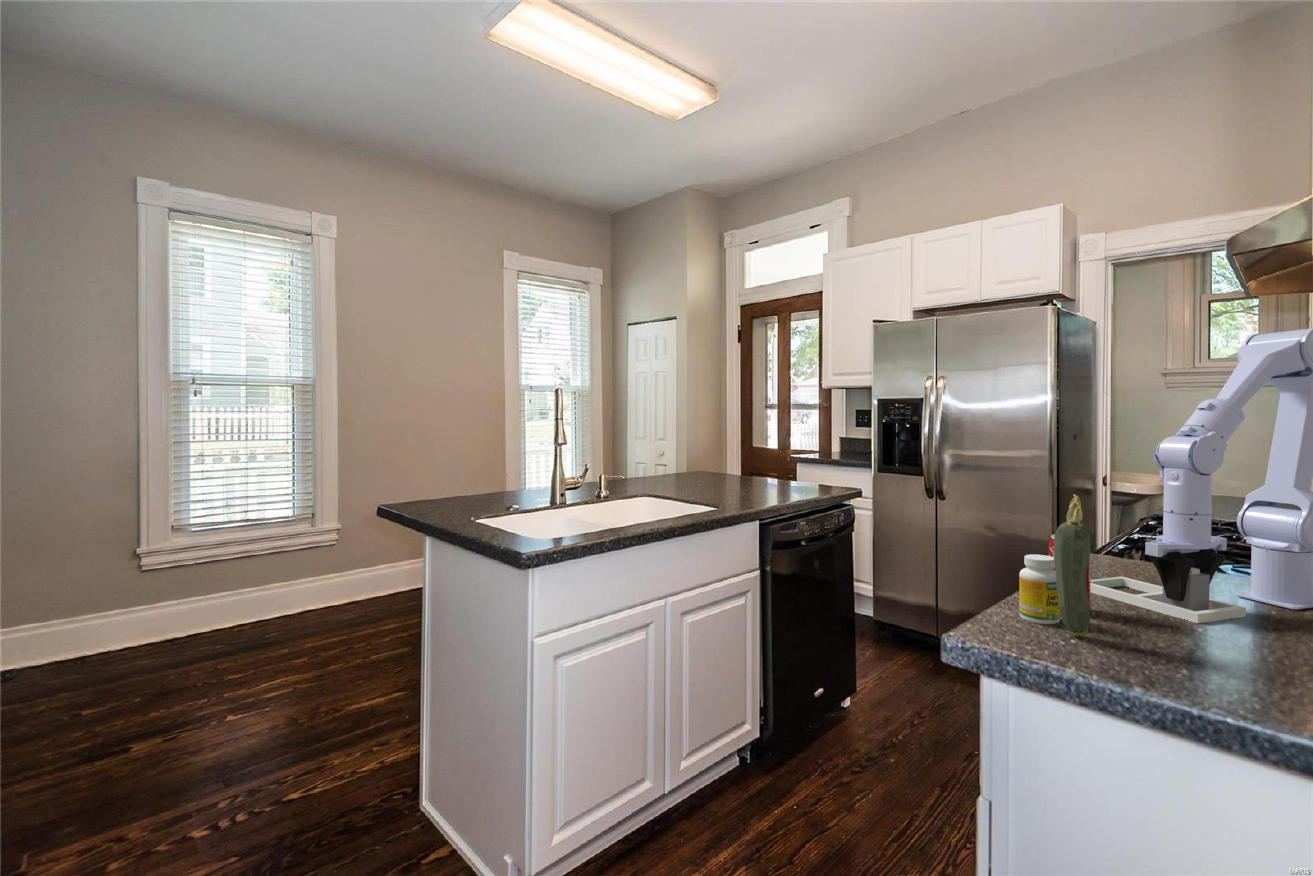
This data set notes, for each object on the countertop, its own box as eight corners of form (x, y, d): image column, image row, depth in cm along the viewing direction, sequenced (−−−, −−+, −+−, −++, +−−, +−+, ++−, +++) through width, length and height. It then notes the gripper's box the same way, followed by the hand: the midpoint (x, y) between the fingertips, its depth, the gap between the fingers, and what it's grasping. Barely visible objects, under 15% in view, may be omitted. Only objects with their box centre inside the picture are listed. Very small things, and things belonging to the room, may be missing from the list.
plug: (1181, 605, 99) (1181, 563, 98) (1209, 612, 95) (1209, 569, 95) (1162, 607, 98) (1163, 565, 97) (1190, 615, 94) (1190, 571, 94)
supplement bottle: (1029, 611, 97) (1030, 551, 97) (1067, 620, 92) (1067, 557, 92) (1012, 618, 94) (1012, 556, 94) (1050, 627, 89) (1050, 563, 89)
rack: (1121, 584, 111) (1121, 576, 111) (1245, 616, 93) (1245, 607, 93) (1078, 588, 108) (1078, 581, 108) (1197, 623, 90) (1197, 614, 90)
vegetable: (1078, 644, 83) (1080, 498, 82) (1046, 634, 87) (1046, 494, 86) (1096, 638, 85) (1098, 495, 84) (1064, 629, 89) (1065, 492, 88)
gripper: (1192, 506, 101) (1191, 587, 102) (1126, 511, 98) (1125, 595, 98) (1243, 512, 95) (1241, 599, 95) (1173, 518, 91) (1172, 608, 91)
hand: (1185, 598), depth 96 cm, fingers closed on plug, 4 cm apart
